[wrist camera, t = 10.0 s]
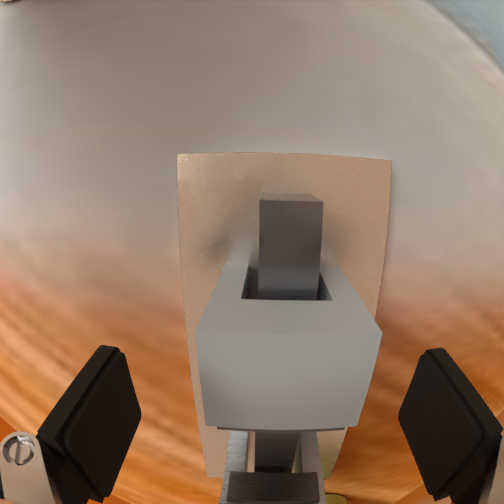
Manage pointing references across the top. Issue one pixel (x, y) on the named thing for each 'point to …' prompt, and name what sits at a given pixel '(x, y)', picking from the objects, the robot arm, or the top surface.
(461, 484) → the robot arm
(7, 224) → the top surface
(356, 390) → the grey block
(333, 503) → the plant pot
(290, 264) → the rail
